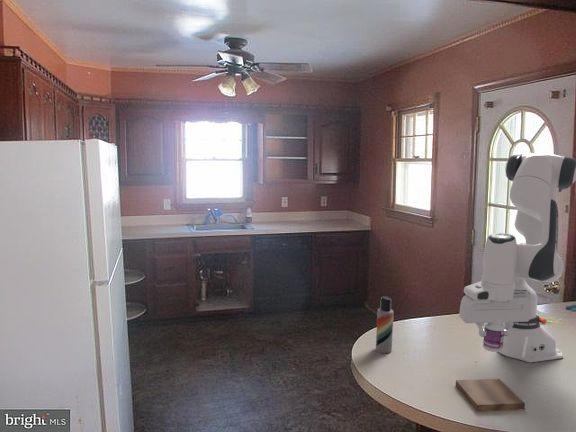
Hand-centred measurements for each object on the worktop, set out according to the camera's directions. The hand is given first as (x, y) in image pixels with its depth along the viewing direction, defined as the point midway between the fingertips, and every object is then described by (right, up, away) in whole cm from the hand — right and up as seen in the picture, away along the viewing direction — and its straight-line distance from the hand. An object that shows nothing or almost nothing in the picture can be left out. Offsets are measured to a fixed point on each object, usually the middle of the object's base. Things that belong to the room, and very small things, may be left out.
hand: (493, 335), depth 139 cm
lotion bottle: (-25, -14, +34) cm, 45 cm away
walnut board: (0, -19, +3) cm, 19 cm away
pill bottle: (0, -4, +1) cm, 4 cm away
